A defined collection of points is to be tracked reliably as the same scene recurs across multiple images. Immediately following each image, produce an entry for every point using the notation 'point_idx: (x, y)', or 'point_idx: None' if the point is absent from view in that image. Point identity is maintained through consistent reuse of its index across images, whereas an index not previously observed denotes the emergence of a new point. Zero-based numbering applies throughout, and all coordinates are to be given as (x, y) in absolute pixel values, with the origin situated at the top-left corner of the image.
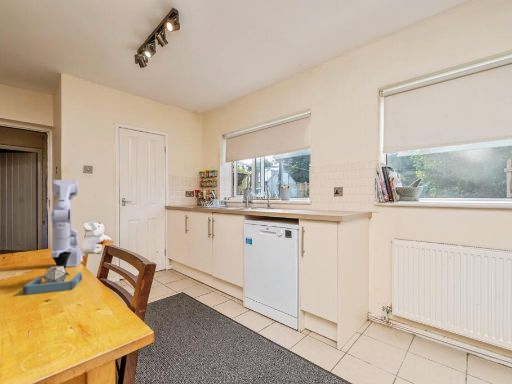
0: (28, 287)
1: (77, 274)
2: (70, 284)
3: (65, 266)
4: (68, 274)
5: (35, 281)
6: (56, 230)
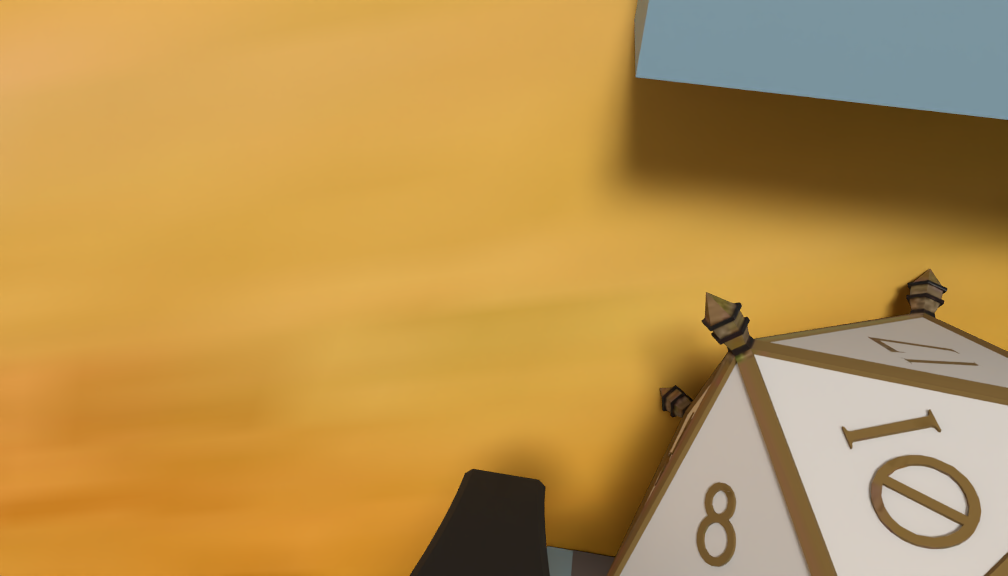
0: None
1: (859, 79)
2: None
3: (494, 551)
4: (744, 324)
5: None
6: None
